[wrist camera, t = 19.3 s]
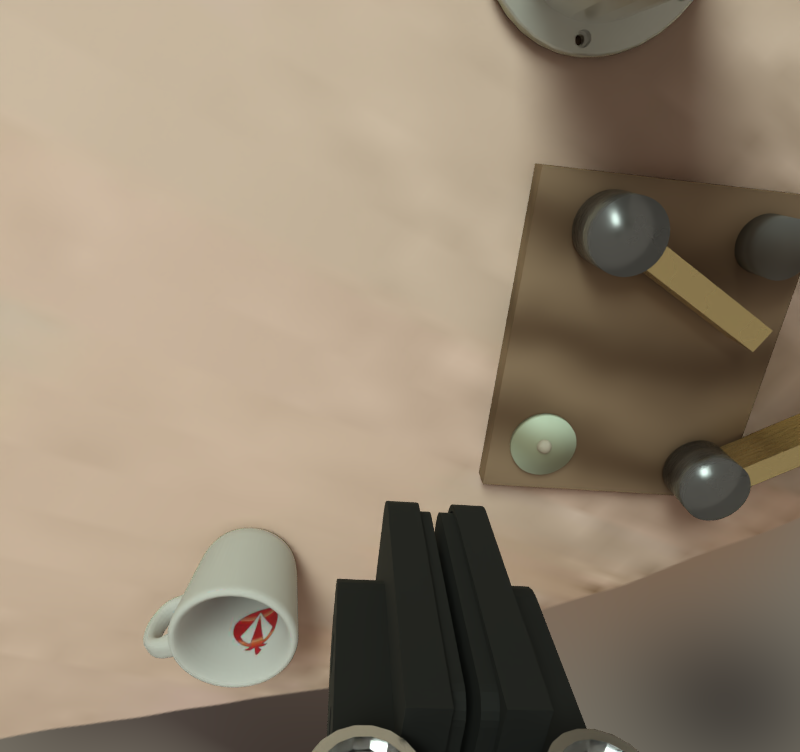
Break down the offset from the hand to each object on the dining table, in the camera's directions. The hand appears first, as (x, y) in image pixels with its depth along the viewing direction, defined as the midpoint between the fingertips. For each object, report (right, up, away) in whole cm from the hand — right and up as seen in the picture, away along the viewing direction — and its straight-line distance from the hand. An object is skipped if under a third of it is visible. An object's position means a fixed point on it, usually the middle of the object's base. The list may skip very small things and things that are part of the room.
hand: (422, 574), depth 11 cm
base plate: (+15, +6, +30) cm, 34 cm away
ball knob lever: (+15, +10, +27) cm, 32 cm away
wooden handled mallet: (+24, -1, +32) cm, 40 cm away
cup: (-13, -10, +35) cm, 39 cm away
